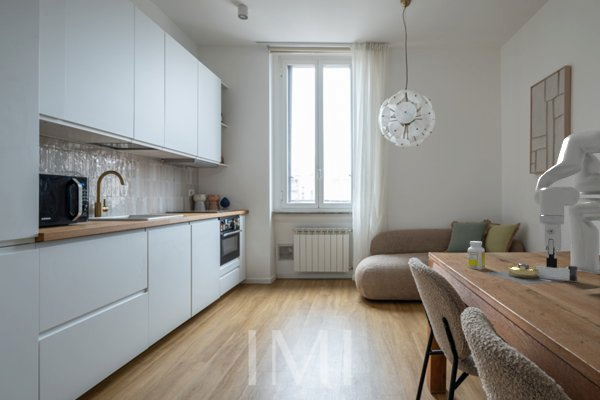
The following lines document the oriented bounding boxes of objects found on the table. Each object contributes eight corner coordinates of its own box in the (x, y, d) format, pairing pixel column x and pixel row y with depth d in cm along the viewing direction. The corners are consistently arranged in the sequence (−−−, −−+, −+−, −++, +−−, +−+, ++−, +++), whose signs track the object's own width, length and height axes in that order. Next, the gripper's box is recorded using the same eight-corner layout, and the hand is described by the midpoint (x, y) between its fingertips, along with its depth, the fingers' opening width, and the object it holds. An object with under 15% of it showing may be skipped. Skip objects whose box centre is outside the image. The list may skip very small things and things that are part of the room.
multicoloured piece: (507, 276, 134) (507, 262, 134) (509, 272, 142) (509, 259, 142) (578, 284, 122) (578, 269, 122) (576, 279, 130) (576, 264, 130)
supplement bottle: (481, 269, 155) (481, 240, 155) (487, 272, 149) (487, 242, 149) (465, 269, 156) (465, 240, 156) (471, 272, 149) (471, 242, 149)
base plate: (521, 273, 147) (522, 269, 147) (569, 284, 128) (569, 280, 128) (482, 276, 142) (482, 272, 142) (525, 288, 123) (525, 283, 123)
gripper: (563, 221, 124) (563, 273, 124) (564, 219, 135) (564, 266, 136) (538, 220, 128) (538, 270, 128) (541, 218, 140) (541, 264, 140)
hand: (551, 268), depth 132 cm, fingers closed
